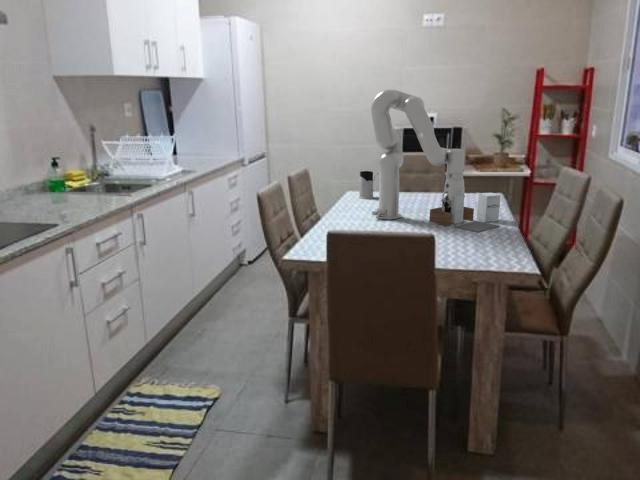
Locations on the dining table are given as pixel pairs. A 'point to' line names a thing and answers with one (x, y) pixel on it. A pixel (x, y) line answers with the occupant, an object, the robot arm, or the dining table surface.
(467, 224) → the mat
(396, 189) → the robot arm
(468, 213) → the cubby
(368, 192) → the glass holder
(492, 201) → the supplement box
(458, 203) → the small box
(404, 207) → the dining table surface
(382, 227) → the dining table surface
